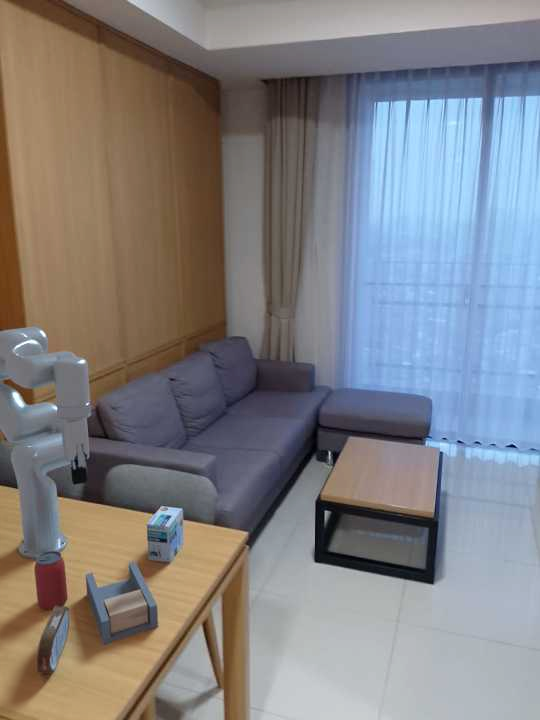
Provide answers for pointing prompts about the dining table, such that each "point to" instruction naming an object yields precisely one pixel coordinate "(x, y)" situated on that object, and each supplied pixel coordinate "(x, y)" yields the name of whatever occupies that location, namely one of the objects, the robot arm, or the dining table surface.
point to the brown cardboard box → (126, 611)
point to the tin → (53, 640)
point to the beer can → (50, 580)
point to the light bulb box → (165, 534)
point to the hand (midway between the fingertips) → (79, 482)
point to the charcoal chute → (116, 589)
